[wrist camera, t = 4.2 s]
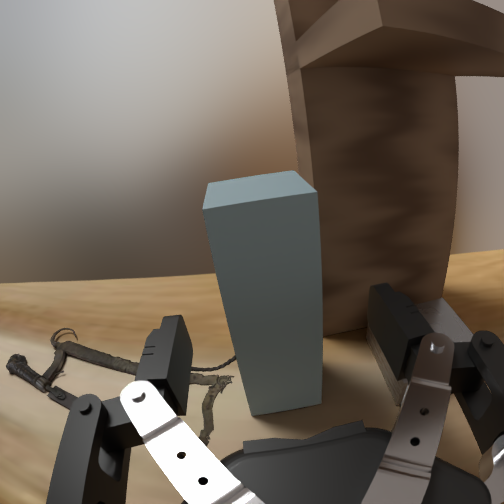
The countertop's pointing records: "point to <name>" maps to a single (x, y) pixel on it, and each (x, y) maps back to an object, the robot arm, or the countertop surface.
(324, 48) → the brown tall blocky piece
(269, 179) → the block
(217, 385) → the hacksaw
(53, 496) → the robot arm
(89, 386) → the countertop surface
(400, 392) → the grey square block
